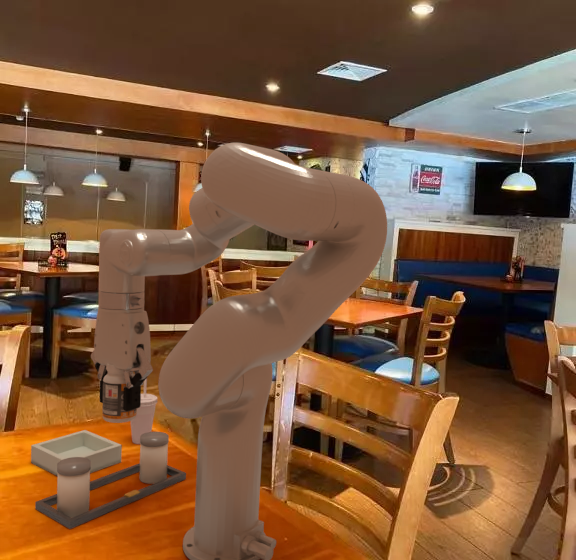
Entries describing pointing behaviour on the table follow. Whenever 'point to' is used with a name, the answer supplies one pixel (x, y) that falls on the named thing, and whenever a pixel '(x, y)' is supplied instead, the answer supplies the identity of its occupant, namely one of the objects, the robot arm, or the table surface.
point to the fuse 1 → (73, 486)
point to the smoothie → (143, 416)
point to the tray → (76, 451)
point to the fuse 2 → (153, 457)
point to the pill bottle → (115, 396)
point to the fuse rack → (129, 497)
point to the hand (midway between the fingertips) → (119, 404)
